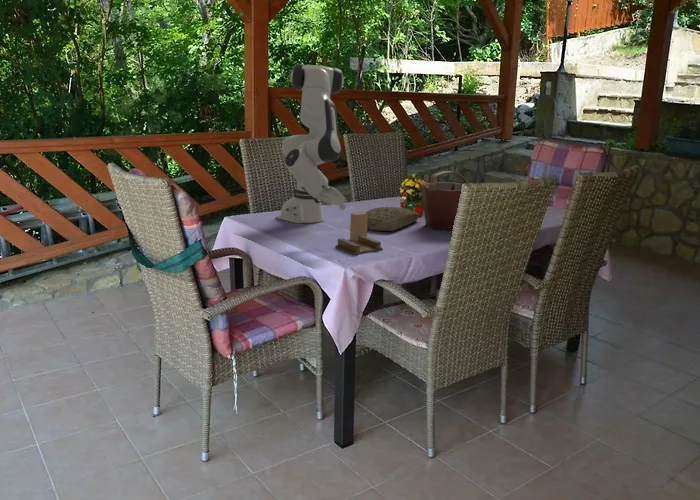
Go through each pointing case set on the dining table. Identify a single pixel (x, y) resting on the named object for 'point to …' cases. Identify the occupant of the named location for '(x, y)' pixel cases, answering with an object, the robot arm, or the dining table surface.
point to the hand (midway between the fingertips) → (336, 206)
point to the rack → (359, 245)
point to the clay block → (358, 225)
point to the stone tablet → (390, 218)
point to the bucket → (441, 201)
